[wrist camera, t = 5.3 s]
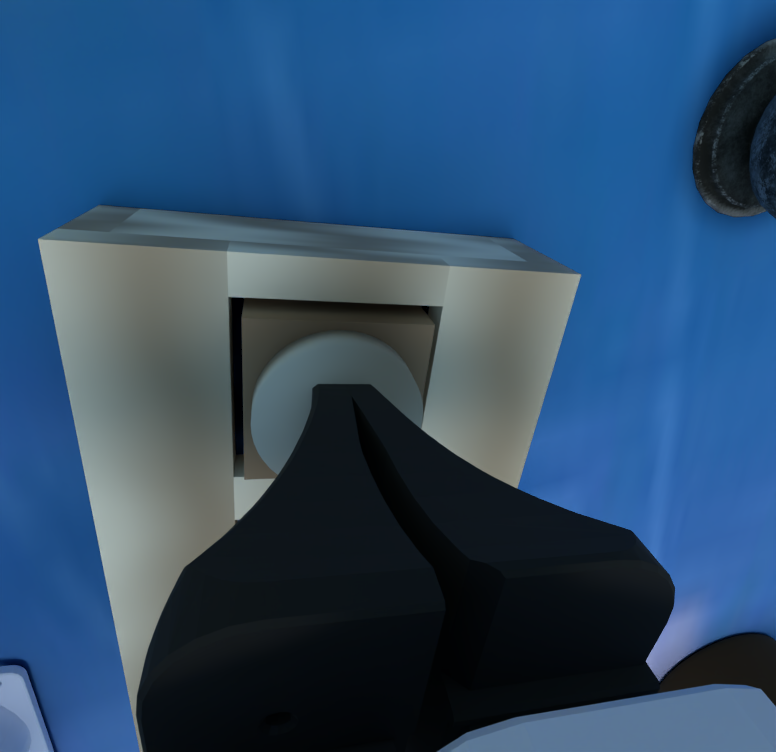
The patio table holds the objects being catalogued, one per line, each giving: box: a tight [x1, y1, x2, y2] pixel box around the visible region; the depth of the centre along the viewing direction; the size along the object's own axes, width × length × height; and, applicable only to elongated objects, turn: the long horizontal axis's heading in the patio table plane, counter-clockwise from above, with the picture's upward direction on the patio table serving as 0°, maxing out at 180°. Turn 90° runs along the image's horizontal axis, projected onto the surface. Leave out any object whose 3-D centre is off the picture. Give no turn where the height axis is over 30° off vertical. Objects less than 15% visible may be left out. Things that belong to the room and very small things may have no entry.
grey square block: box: [38, 205, 581, 752], centre depth 17 cm, size 12×20×4 cm, turn 173°
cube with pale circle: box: [242, 298, 435, 480], centre depth 13 cm, size 4×4×4 cm
